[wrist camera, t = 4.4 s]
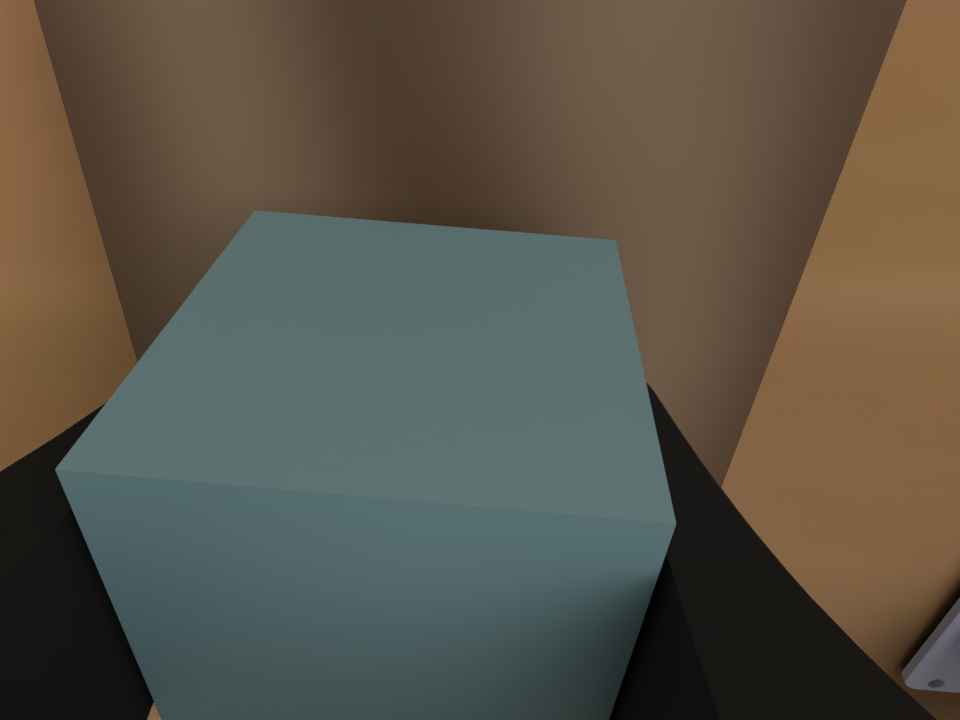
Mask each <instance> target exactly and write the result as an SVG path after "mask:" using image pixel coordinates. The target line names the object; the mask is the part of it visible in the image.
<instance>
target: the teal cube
mask: <svg viewBox="0 0 960 720" xmlns="http://www.w3.org/2000/svg"><path fill="white" fill-rule="evenodd" d="M55 471H56V473H57V475H58V478H59V480H60V482H61V485H62V487H63V489H64V492H65V494H66V496H67V499H68V501H69V503H70V506H71V508H72V510H73V513H74V515H75V518H76V520H77V522H78V525H79V527H80V529H81V532H82V534H83V536H84V539H85V541H86V543H87V546H88V548H89V550H90V553H91V555H92V557H93V560H94V562H95V564H96V567H97V569H98V571H99V574H100V576H101V579H102V581H103V583H104V586H105V588H106V590H107V593H108V595H109V597H110V600H111V602H112V604H113V607H114V609H115V611H116V614H117V616H118V618H119V621H120V623H121V625H122V628H123V630H124V632H125V635H126V637H127V640H128V642H129V644H130V647H131V649H132V651H133V654H134V656H135V658H136V661H137V663H138V665H139V668H140V670H141V672H142V675H143V677H144V679H145V682H146V684H147V686H148V689H149V691H150V693H151V696H152V698H153V701H154V703H155V705H156V708H157V710H158V712H159V715H160V717H161V719H162V720H609V718H610V715H611V712H612V709H613V707H614V704H615V701H616V698H617V695H618V692H619V689H620V686H621V683H622V680H623V678H624V675H625V672H626V669H627V666H628V663H629V660H630V657H631V654H632V651H633V648H634V646H635V643H636V640H637V637H638V634H639V631H640V628H641V625H642V622H643V619H644V616H645V614H646V611H647V608H648V605H649V602H650V599H651V596H652V593H653V590H654V587H655V584H656V582H657V579H658V576H659V573H660V570H661V567H662V564H663V561H664V558H665V555H666V553H667V550H668V547H669V544H670V541H671V538H672V535H673V532H674V529H675V526H676V520H675V515H674V510H673V506H672V501H671V496H670V492H669V487H668V482H667V478H666V473H665V468H664V464H663V459H662V454H661V450H660V445H659V440H658V436H657V431H656V426H655V422H654V417H653V412H652V408H651V403H650V398H649V394H648V389H647V384H646V380H645V375H644V370H643V366H642V361H641V356H640V352H639V347H638V342H637V338H636V333H635V328H634V324H633V319H632V314H631V310H630V305H629V301H628V296H627V291H626V287H625V282H624V277H623V273H622V268H621V263H620V259H619V254H618V249H617V245H616V240H608V239H596V238H584V237H571V236H559V235H547V234H535V233H523V232H511V231H499V230H486V229H474V228H462V227H450V226H438V225H426V224H414V223H401V222H389V221H377V220H365V219H353V218H341V217H329V216H316V215H304V214H292V213H280V212H268V211H256V210H255V211H254V212H253V213H252V215H251V216H250V217H249V218H248V220H247V221H246V222H245V224H244V225H243V226H242V228H241V229H240V230H239V231H238V233H237V234H236V235H235V237H234V238H233V239H232V241H231V242H230V243H229V244H228V246H227V247H226V248H225V250H224V251H223V252H222V253H221V255H220V256H219V257H218V259H217V260H216V261H215V263H214V264H213V265H212V266H211V268H210V269H209V270H208V272H207V273H206V274H205V276H204V277H203V278H202V279H201V281H200V282H199V283H198V285H197V286H196V287H195V289H194V290H193V291H192V292H191V294H190V295H189V296H188V298H187V299H186V300H185V301H184V303H183V304H182V305H181V307H180V308H179V309H178V311H177V312H176V313H175V314H174V316H173V317H172V318H171V320H170V321H169V322H168V324H167V325H166V326H165V327H164V329H163V330H162V331H161V333H160V334H159V335H158V337H157V338H156V339H155V340H154V342H153V343H152V344H151V346H150V347H149V348H148V349H147V351H146V352H145V353H144V355H143V356H142V357H141V359H140V360H139V361H138V362H137V364H136V365H135V366H134V368H133V369H132V370H131V372H130V373H129V374H128V375H127V377H126V378H125V379H124V381H123V382H122V383H121V385H120V386H119V387H118V388H117V390H116V391H115V392H114V394H113V395H112V396H111V397H110V399H109V400H108V401H107V403H106V404H105V405H104V407H103V408H102V409H101V410H100V412H99V413H98V414H97V416H96V417H95V418H94V420H93V421H92V422H91V423H90V425H89V426H88V427H87V429H86V430H85V431H84V433H83V434H82V435H81V436H80V438H79V439H78V440H77V442H76V443H75V444H74V445H73V447H72V448H71V449H70V451H69V452H68V453H67V455H66V456H65V457H64V458H63V460H62V461H61V462H60V464H59V465H58V466H57V468H56V469H55Z"/></svg>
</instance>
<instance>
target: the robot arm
mask: <svg viewBox="0 0 960 720" xmlns="http://www.w3.org/2000/svg"><path fill="white" fill-rule="evenodd" d="M646 384H647V389H648V394H649V398H650V403H651V408H652V412H653V417H654V422H655V426H656V431H657V436H658V440H659V445H660V450H661V454H662V459H663V464H664V468H665V473H666V478H667V482H668V487H669V492H670V496H671V501H672V506H673V510H674V515H675V520H676V526H675V529H674V532H673V535H672V538H671V541H670V544H669V547H668V550H667V553H666V555H665V558H664V561H663V564H662V567H661V570H660V573H659V576H658V579H657V582H656V584H655V587H654V590H653V593H652V596H651V599H650V602H649V605H648V608H647V611H646V614H645V616H644V619H643V622H642V625H641V628H640V631H639V634H638V637H637V640H636V643H635V646H634V648H633V651H632V654H631V657H630V660H629V663H628V666H627V669H626V672H625V675H624V678H623V680H622V683H621V686H620V689H619V692H618V695H617V698H616V701H615V704H614V707H613V709H612V712H611V715H610V718H609V720H936V719H935V718H934V717H933V716H932V715H931V714H930V713H928V712H927V711H926V710H925V709H924V708H923V707H922V706H921V705H920V704H919V703H917V702H916V701H915V700H914V699H913V698H912V697H911V696H910V695H909V694H908V693H907V692H905V691H904V690H903V689H902V688H901V687H900V686H899V685H898V684H897V683H896V682H894V681H893V680H892V679H891V678H890V677H889V676H888V675H887V674H886V673H885V672H884V671H883V670H882V669H881V668H880V667H879V666H878V665H877V664H876V663H875V662H874V661H873V660H872V659H871V658H870V657H868V656H867V655H866V654H865V653H864V652H863V651H862V650H861V649H860V648H859V647H858V646H857V645H856V644H855V643H854V641H853V640H852V639H851V638H850V637H849V636H848V635H847V634H846V633H845V632H844V631H843V630H842V629H841V628H840V627H839V626H838V625H837V624H836V623H835V622H834V621H833V620H832V619H831V618H830V617H829V616H828V615H827V614H826V613H825V611H824V610H823V609H822V608H821V607H820V606H819V605H818V604H817V603H816V602H815V601H814V600H813V599H812V598H811V597H810V596H809V595H808V594H807V592H806V591H805V590H804V589H803V588H802V587H801V586H800V585H799V583H798V582H797V581H796V580H795V579H794V578H793V577H792V576H791V574H790V573H789V572H788V571H787V570H786V569H785V567H784V566H783V565H782V564H781V563H780V561H779V560H778V559H777V558H776V557H775V556H774V554H773V553H772V552H771V551H770V550H769V548H768V547H767V546H766V545H765V544H764V542H763V541H762V540H761V539H760V538H759V536H758V535H757V534H756V533H755V531H754V530H753V529H752V528H751V526H750V525H749V524H748V523H747V521H746V520H745V519H744V518H743V516H742V515H741V514H740V512H739V511H738V510H737V509H736V507H735V506H734V505H733V503H732V502H731V501H730V499H729V498H728V497H727V495H726V494H725V493H724V491H723V490H722V489H721V487H720V486H719V485H718V483H717V482H716V481H715V479H714V478H713V477H712V475H711V474H710V472H709V471H708V470H707V468H706V467H705V466H704V464H703V463H702V461H701V460H700V459H699V457H698V456H697V454H696V453H695V451H694V450H693V448H692V447H691V446H690V444H689V443H688V441H687V440H686V438H685V437H684V435H683V434H682V432H681V431H680V429H679V428H678V426H677V425H676V423H675V422H674V420H673V419H672V417H671V416H670V414H669V413H668V411H667V410H666V408H665V407H664V405H663V404H662V402H661V401H660V399H659V398H658V396H657V395H656V393H655V392H654V390H653V389H652V388H651V387H650V385H649V384H648V383H646ZM105 404H106V403H105ZM105 404H104V405H105ZM104 405H102V406H101V407H99V408H98V409H96V410H95V411H93V412H92V413H91V414H89V415H88V416H86V417H85V418H83V419H82V420H80V421H79V422H77V423H76V424H74V425H73V426H71V427H70V428H68V429H67V430H66V431H64V432H63V433H61V434H60V435H58V436H57V437H55V438H54V439H52V440H50V441H49V442H47V443H46V444H44V445H42V446H41V447H39V448H38V449H36V450H34V451H33V452H31V453H30V454H28V455H26V456H25V457H23V458H22V459H20V460H18V461H17V462H15V463H14V464H12V465H10V466H9V467H7V468H6V469H4V470H2V471H1V472H0V720H147V718H148V715H149V712H150V710H151V707H152V705H153V703H154V701H153V698H152V696H151V693H150V691H149V689H148V686H147V684H146V682H145V679H144V677H143V675H142V672H141V670H140V668H139V665H138V663H137V661H136V658H135V656H134V654H133V651H132V649H131V647H130V644H129V642H128V640H127V637H126V635H125V632H124V630H123V628H122V625H121V623H120V621H119V618H118V616H117V614H116V611H115V609H114V607H113V604H112V602H111V600H110V597H109V595H108V593H107V590H106V588H105V586H104V583H103V581H102V579H101V576H100V574H99V571H98V569H97V567H96V564H95V562H94V560H93V557H92V555H91V553H90V550H89V548H88V546H87V543H86V541H85V539H84V536H83V534H82V532H81V529H80V527H79V525H78V522H77V520H76V518H75V515H74V513H73V510H72V508H71V506H70V503H69V501H68V499H67V496H66V494H65V492H64V489H63V487H62V485H61V482H60V480H59V478H58V475H57V473H56V471H55V469H56V468H57V466H58V465H59V464H60V462H61V461H62V460H63V458H64V457H65V456H66V455H67V453H68V452H69V451H70V449H71V448H72V447H73V445H74V444H75V443H76V442H77V440H78V439H79V438H80V436H81V435H82V434H83V433H84V431H85V430H86V429H87V427H88V426H89V425H90V423H91V422H92V421H93V420H94V418H95V417H96V416H97V414H98V413H99V412H100V410H101V409H102V408H103V407H104ZM901 675H902V677H903V680H904V682H905V684H906V686H908V687H910V688H913V689H919V690H930V691H942V692H953V693H960V598H959V599H958V600H957V602H956V603H955V604H954V605H953V607H952V608H951V609H950V611H949V612H948V613H947V614H946V616H945V617H944V618H943V620H942V621H941V622H940V623H939V625H938V626H937V627H936V629H935V630H934V631H933V632H932V634H931V635H930V636H929V638H928V639H927V640H926V641H925V643H924V644H923V645H922V647H921V648H920V649H919V650H918V652H917V653H916V654H915V656H914V657H913V658H912V659H911V661H910V662H909V663H908V664H907V666H906V667H905V668H904V670H903V671H902V673H901Z"/></svg>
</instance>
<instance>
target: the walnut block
mask: <svg viewBox="0 0 960 720" xmlns="http://www.w3.org/2000/svg"><path fill="white" fill-rule="evenodd" d="M34 3H35V6H36V10H37V13H38V17H39V20H40V24H41V27H42V31H43V34H44V38H45V41H46V45H47V48H48V51H49V55H50V58H51V62H52V65H53V69H54V72H55V76H56V79H57V83H58V86H59V90H60V93H61V97H62V100H63V104H64V107H65V111H66V114H67V118H68V121H69V125H70V128H71V132H72V135H73V138H74V142H75V145H76V149H77V152H78V156H79V159H80V163H81V166H82V170H83V173H84V177H85V180H86V184H87V187H88V191H89V194H90V198H91V201H92V205H93V208H94V212H95V215H96V219H97V222H98V226H99V229H100V232H101V236H102V239H103V243H104V246H105V250H106V253H107V257H108V260H109V264H110V267H111V271H112V274H113V278H114V281H115V285H116V288H117V292H118V295H119V299H120V302H121V306H122V309H123V313H124V316H125V319H126V323H127V326H128V330H129V333H130V337H131V340H132V344H133V347H134V351H135V354H136V358H137V361H139V360H140V359H141V357H142V356H143V355H144V353H145V352H146V351H147V349H148V348H149V347H150V346H151V344H152V343H153V342H154V340H155V339H156V338H157V337H158V335H159V334H160V333H161V331H162V330H163V329H164V327H165V326H166V325H167V324H168V322H169V321H170V320H171V318H172V317H173V316H174V314H175V313H176V312H177V311H178V309H179V308H180V307H181V305H182V304H183V303H184V301H185V300H186V299H187V298H188V296H189V295H190V294H191V292H192V291H193V290H194V289H195V287H196V286H197V285H198V283H199V282H200V281H201V279H202V278H203V277H204V276H205V274H206V273H207V272H208V270H209V269H210V268H211V266H212V265H213V264H214V263H215V261H216V260H217V259H218V257H219V256H220V255H221V253H222V252H223V251H224V250H225V248H226V247H227V246H228V244H229V243H230V242H231V241H232V239H233V238H234V237H235V235H236V234H237V233H238V231H239V230H240V229H241V228H242V226H243V225H244V224H245V222H246V221H247V220H248V218H249V217H250V216H251V215H252V213H253V212H254V211H255V210H256V211H268V212H280V213H292V214H304V215H316V216H329V217H341V218H353V219H365V220H377V221H389V222H401V223H414V224H426V225H438V226H450V227H462V228H474V229H486V230H499V231H511V232H523V233H535V234H547V235H559V236H571V237H584V238H596V239H608V240H616V245H617V249H618V254H619V259H620V263H621V268H622V273H623V277H624V282H625V287H626V291H627V296H628V301H629V305H630V310H631V314H632V319H633V324H634V328H635V333H636V338H637V342H638V347H639V352H640V356H641V361H642V366H643V370H644V375H645V380H646V383H648V384H649V385H650V387H651V388H652V389H653V390H654V392H655V393H656V395H657V396H658V398H659V399H660V401H661V402H662V404H663V405H664V407H665V408H666V410H667V411H668V413H669V414H670V416H671V417H672V419H673V420H674V422H675V423H676V425H677V426H678V428H679V429H680V431H681V432H682V434H683V435H684V437H685V438H686V440H687V441H688V443H689V444H690V446H691V447H692V448H693V450H694V451H695V453H696V454H697V456H698V457H699V459H700V460H701V461H702V463H703V464H704V466H705V467H706V468H707V470H708V471H709V472H710V474H711V475H712V477H713V478H714V479H715V481H716V482H717V483H718V485H719V486H720V487H721V486H722V484H723V481H724V478H725V476H726V473H727V470H728V468H729V465H730V463H731V460H732V457H733V455H734V452H735V449H736V447H737V444H738V442H739V439H740V436H741V434H742V431H743V428H744V426H745V423H746V421H747V418H748V415H749V413H750V410H751V407H752V405H753V402H754V400H755V397H756V394H757V392H758V389H759V386H760V384H761V381H762V379H763V376H764V373H765V371H766V368H767V365H768V363H769V360H770V357H771V355H772V352H773V350H774V347H775V344H776V342H777V339H778V336H779V334H780V331H781V329H782V326H783V323H784V321H785V318H786V315H787V313H788V310H789V308H790V305H791V302H792V300H793V297H794V294H795V292H796V289H797V287H798V284H799V281H800V279H801V276H802V273H803V271H804V268H805V266H806V263H807V260H808V258H809V255H810V252H811V250H812V247H813V245H814V242H815V239H816V237H817V234H818V231H819V229H820V226H821V224H822V221H823V218H824V216H825V213H826V210H827V208H828V205H829V203H830V200H831V197H832V195H833V192H834V189H835V187H836V184H837V181H838V179H839V176H840V174H841V171H842V168H843V166H844V163H845V160H846V158H847V155H848V153H849V150H850V147H851V145H852V142H853V139H854V137H855V134H856V132H857V129H858V126H859V124H860V121H861V118H862V116H863V113H864V111H865V108H866V105H867V103H868V100H869V97H870V95H871V92H872V90H873V87H874V84H875V82H876V79H877V76H878V74H879V71H880V69H881V66H882V63H883V61H884V58H885V55H886V53H887V50H888V48H889V45H890V42H891V40H892V37H893V34H894V32H895V29H896V27H897V24H898V21H899V19H900V16H901V13H902V11H903V8H904V6H905V3H906V0H34Z"/></svg>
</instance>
